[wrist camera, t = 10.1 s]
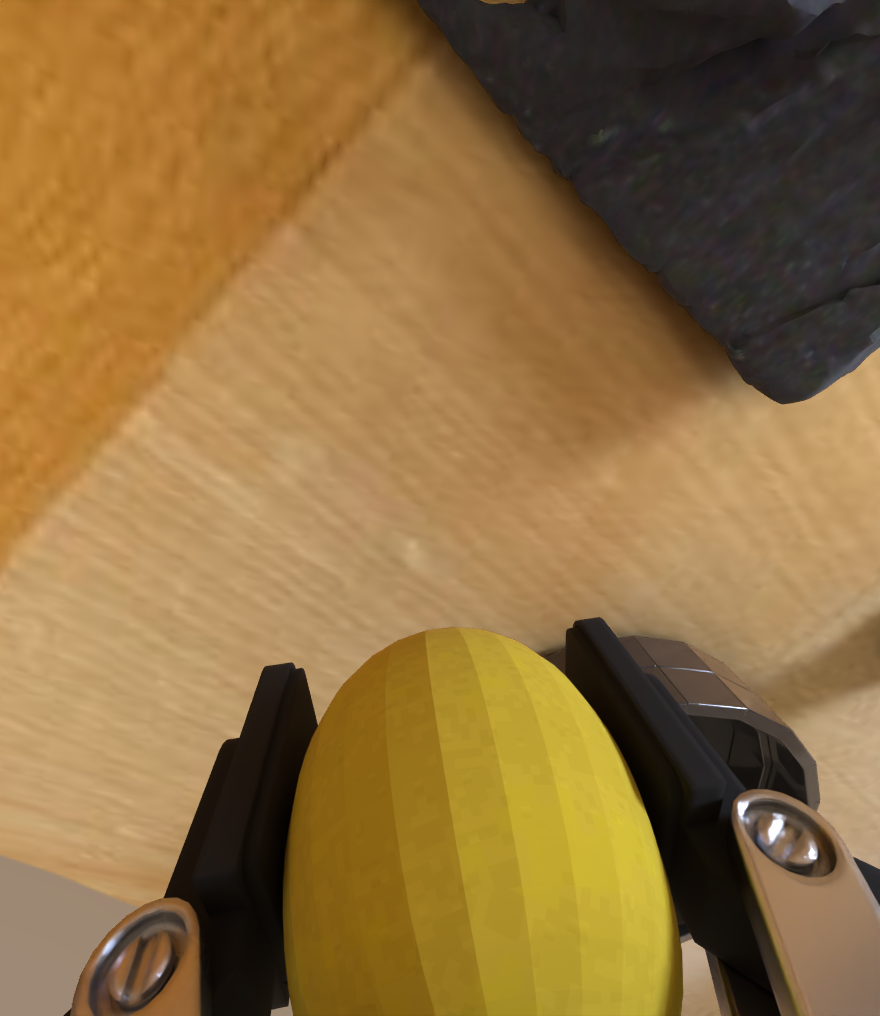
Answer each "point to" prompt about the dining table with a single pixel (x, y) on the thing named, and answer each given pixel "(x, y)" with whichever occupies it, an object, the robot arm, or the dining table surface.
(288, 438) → the dining table surface
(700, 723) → the pan
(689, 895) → the robot arm
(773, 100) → the dark slate chunk
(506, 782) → the lemon
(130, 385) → the dining table surface
